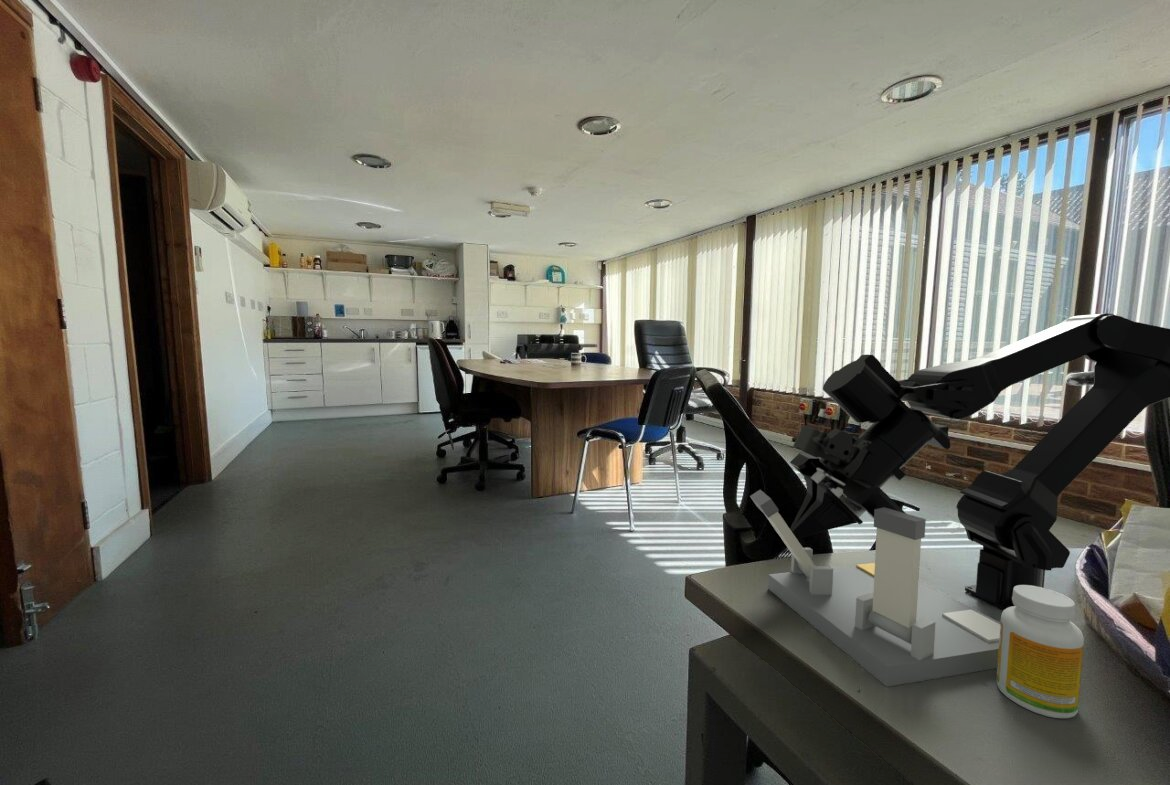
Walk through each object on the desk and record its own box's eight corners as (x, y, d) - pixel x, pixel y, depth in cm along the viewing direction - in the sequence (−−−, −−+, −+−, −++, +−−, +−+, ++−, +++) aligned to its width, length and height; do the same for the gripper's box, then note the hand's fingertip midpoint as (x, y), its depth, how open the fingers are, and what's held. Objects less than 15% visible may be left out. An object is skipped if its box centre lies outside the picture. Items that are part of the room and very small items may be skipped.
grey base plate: (881, 574, 67) (882, 538, 67) (1036, 661, 48) (1040, 611, 48) (766, 587, 63) (767, 549, 63) (886, 686, 44) (889, 633, 44)
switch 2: (878, 621, 51) (884, 507, 50) (918, 641, 47) (926, 519, 46) (868, 625, 50) (873, 509, 49) (908, 646, 46) (915, 521, 45)
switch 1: (813, 565, 63) (760, 488, 62) (828, 579, 59) (771, 498, 58) (802, 572, 63) (749, 496, 62) (815, 587, 59) (759, 506, 58)
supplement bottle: (1096, 725, 40) (1106, 614, 39) (1021, 715, 41) (1029, 607, 40) (1047, 682, 45) (1055, 583, 44) (982, 674, 46) (989, 578, 45)
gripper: (805, 396, 68) (727, 473, 69) (882, 413, 49) (773, 517, 51) (860, 450, 68) (781, 525, 70) (956, 486, 50) (847, 588, 51)
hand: (792, 535), depth 60 cm, fingers closed, pressing on switch 1
